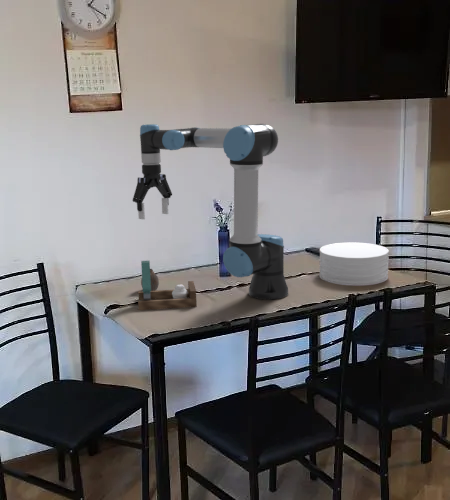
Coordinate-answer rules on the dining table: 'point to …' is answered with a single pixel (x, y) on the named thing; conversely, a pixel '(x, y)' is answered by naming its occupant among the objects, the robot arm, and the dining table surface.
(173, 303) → the wooden tray
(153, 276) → the vase
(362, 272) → the plate stack
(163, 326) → the dining table surface
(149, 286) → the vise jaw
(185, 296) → the white rounded lump
